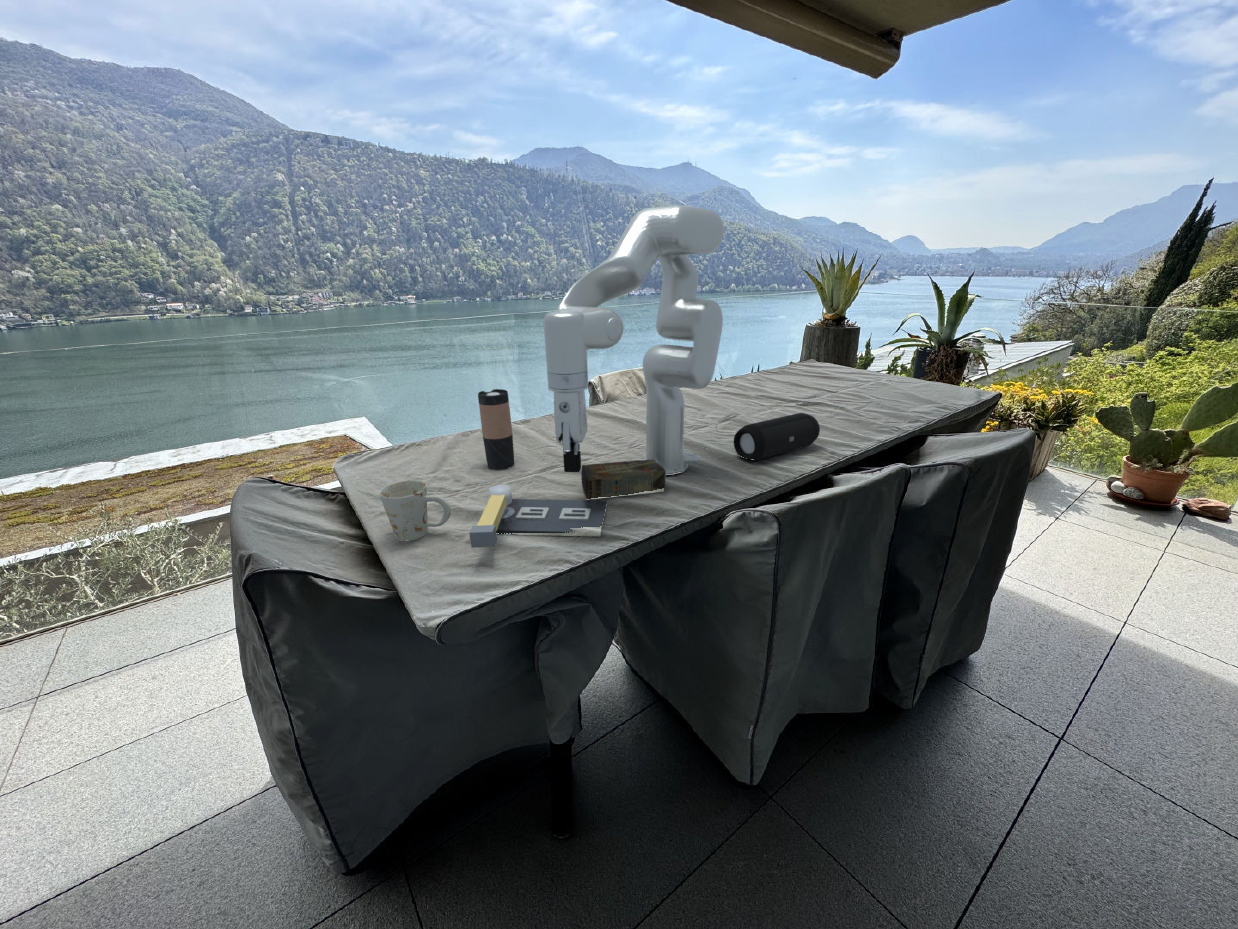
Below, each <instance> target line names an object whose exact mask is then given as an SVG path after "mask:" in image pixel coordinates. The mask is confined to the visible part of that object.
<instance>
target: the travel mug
mask: <svg viewBox="0 0 1238 929" xmlns="http://www.w3.org/2000/svg"><path fill="white" fill-rule="evenodd" d="M477 398H478V399H477V400H478V405H479V406H478V408H479V414H480V425H481V432H482V439H483V447H484V451H485V452H484V453H485V459H486V463H487V468H488V469H491V470H495V471H500V470H507V469H510V468H512V467H514V465H515V453H514V452H515V451H514V436H513V428H512V426H513V425H512V418H511V416H512V415H511V409H510V401H509V400H510V399H509V392H508V390H506V389H502V388H497V389H496V388H494V389H492V390H491V391H485V390H480V391H479V392H478V393H477Z"/></svg>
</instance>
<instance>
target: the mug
mask: <svg viewBox="0 0 1238 929" xmlns="http://www.w3.org/2000/svg"><path fill="white" fill-rule="evenodd" d="M378 493H379V494H378V495H379V497H380V500H381V503H382V505H383V508H384V511H385V513H386V516H387V518H388V519H387V520H388V521H389V524H390V526H391V530H392V533H393V534H394V536H395V538H396V540H398V539H399V540H398V541H400V540H412V541H415V539H416V540H418V538H419V539H420V537H421V538H422V536H423V535H424V536H426V535H427V534H428V531H429V528H433V527H434V528H435V527H436V528H437V527H441V526H443V525H444V524H446V523H447V522H448V520H449V519H450V518H451V514H452V513H451V510H452V509H451V507H450V505H449V503H448V502H447V500H445V498H444V497H442V496H439V495H427V494H428V490H427V485H426V483H425V482H424V481H422V480H419V479H403V480H400V481H394V482H392V483H389V484H387V485H385V486H383V487H382V488H381V489H380V490H379V492H378ZM429 502H435V503H437V504H439V505H441V508H443V511H444V512H443V516H442V517H441V519H440V520H439V521H435V522H433V521H432V522H431V521H429V520H428V503H429ZM425 534H426V535H425ZM424 536H423V537H424Z"/></svg>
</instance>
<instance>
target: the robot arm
mask: <svg viewBox="0 0 1238 929" xmlns="http://www.w3.org/2000/svg"><path fill="white" fill-rule="evenodd" d="M724 232H725V231H724V223H723V220H722V218H721V216H720V215H719V213H717V212H716V211H715V210H713V209H708V208H700V207H697V206H696V207H695V206H691V205H683V204H681V205H680V204H679V205H676V204H675V205H665V206H657V207H650V208H644V209H641V210H639V211H637V212H636V213H635V214H634V215H633V216H632V218H630V221H629V223H628V224H627V226H626V227H625V229H624V231H623V232H622V234H621V237H620V238H619V239H618V241H617V243H616V245H615V246H614V247H613V249H612V250H611V253H610V254H609V255H608V257H607V259H605V260H603V262H601V263H600V264H599V265H596V266H595V267H594V268H593V269H591V270H590V271H589V272H587V273H586V274H585V275H583V276H582V277H581V278H580V279H578V280H577V281H576V282H574V284H572V286H571V287H569V289H568V290H567V292H566V293H565V295H564V296H563V298H562V300H561V301H560V303H559V305H558V306H557V309H556V310H555V311H549V312H548V313H546V314H545V315H544V317H543V332H544V345H545V347H544V349H545V360H546V373H547V375H546V376H547V378H546V379H547V387H548V388H547V389H548V391H551V392H553V412H554V413H553V416H554V433H555V440H556V442H557V443H558V444H561V443H562V444H561V445H562V452H563V454H562V458H563V459H562V460H563V470H564V473H581V471H582V457H581V454H582V453H581V450H580V448H581V443H582V442H583V441H584V440H585V437H586V435H587V432H588V428H589V427H588V414H587V402H586V400H587V399H586V392H585V391H586V390H587V389H589V372H588V371H589V370H588V366H589V365H588V350H592V349H593V350H596V349H597V350H606V349H609V348H612V347H614V346H616V345H617V344H618V343H619V341H620V340H621V339H622V338H623V334H624V323H623V320H622V317H621V316H620V315H619V313H618V312H616V311H615V310H613V309H610V308H607V307H599V306H601V305H603V304H604V303H606V302H608V301H610V300H613V299H616V298H620V297H622V296H625V295H627V294H629V293H631V292H633V291H636V290H638V289H639V288H640V287H641V286H642V285H643V284H644V283H645V281H646V278H647V277H648V275H649V273H650V271H651V270H652V268H653V266H654V264H655V262H656V260H657V259H658V260H657V261H658V262H659V265H660V268H661V271H662V272H661V273H662V283H661V289H660V296H659V303H658V307H657V308H658V309H657V314H656V322H655V323H656V324H655V325H656V326H655V328H656V332H657V334H658V335H659V336H660V337H662V338H663V339H668V340H674V341H686V342H693V343H692V344H693V346H683V345H674V344H657V345H654V346H651V347H649V348H648V349H647V350H646V352H645V353H644V356H643V359H642V372H643V378H644V384H645V390H646V392H645V393H646V425H645V426H646V427H645V428H646V430H645V432H646V434H645V438H646V439H645V440H646V442H645V443H646V444H645V446H646V448H645V449H646V450H645V454H646V455H645V457H644V458H643V459H642V460H652V459H657V460H658V461H659V463H660V464H661V465H662V467H663V468H664V469H665V471H666V474H673V473H678V472H683V471H684V470H686V469H687V468H688V469H689V463H694V464H701V455H696V453H695V452H686V451H685V448H684V431H685V430H684V429H685V407H686V406H685V403H686V402H685V398H684V395H683V393H682V390H681V389H680V388H685V389H692V390H702V389H705V388H707V387H708V386H709V385H710V384H711V382H712V379H713V377H714V373H715V369H716V364H717V359H718V353H719V349H720V343H721V338H722V332H723V327H724V326H723V325H724V323H723V322H724V319H723V317H724V316H723V312H722V308H721V306H720V304H719V303H718V302H717V301H715V300H713V299H706V298H697V296H698V287H699V279H700V278H699V273H698V271H697V269H696V267H695V265H694V263H693V262H692V260H691V259H690V257H689V255H708V254H709V255H710V254H713V253H714V252H716V250H718V249H719V247H720V245H722V242H723V240H724V239H723V238H724ZM688 469H687V470H688ZM687 470H686V471H687ZM683 473H684V472H683Z"/></svg>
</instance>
